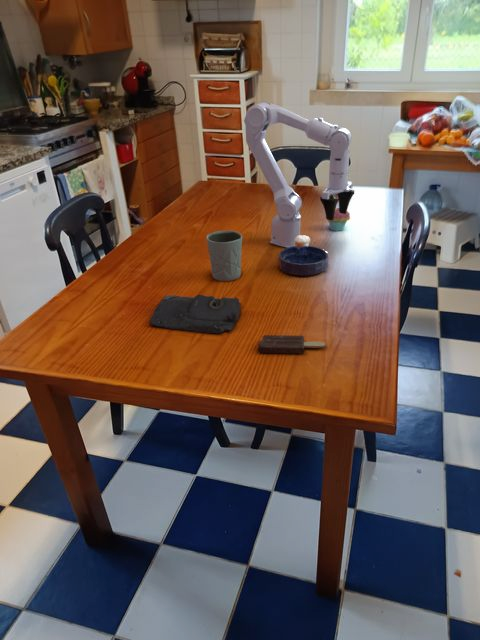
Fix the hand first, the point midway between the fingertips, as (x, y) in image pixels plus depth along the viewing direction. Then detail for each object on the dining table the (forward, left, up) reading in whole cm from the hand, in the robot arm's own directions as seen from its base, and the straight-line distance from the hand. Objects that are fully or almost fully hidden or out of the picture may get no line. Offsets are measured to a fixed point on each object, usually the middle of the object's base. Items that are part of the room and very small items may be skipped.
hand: (336, 216), depth 155 cm
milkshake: (+1, -19, -10) cm, 22 cm away
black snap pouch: (-3, -60, -11) cm, 61 cm away
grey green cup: (-14, -37, -11) cm, 41 cm away
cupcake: (-9, +16, -11) cm, 21 cm away
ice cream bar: (+25, -57, -11) cm, 63 cm away
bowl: (+1, -19, -10) cm, 22 cm away
